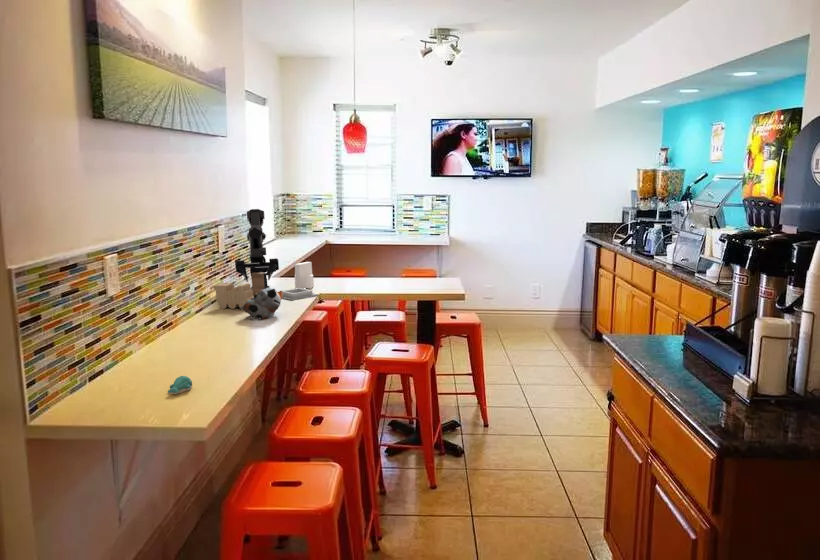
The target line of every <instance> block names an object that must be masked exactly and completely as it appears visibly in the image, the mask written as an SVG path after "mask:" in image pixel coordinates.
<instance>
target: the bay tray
mask: <svg viewBox="0 0 820 560" xmlns="http://www.w3.org/2000/svg"><path fill="white" fill-rule="evenodd" d="M281 291H282V295H283V297H282V299H283V298H284V299H283V300H287V299H288V301H291V300H292V301H296V299H297V300H302V299H301V298H303V299H307V297H308V298H313V297H318V296H319V294H318V293H313V290H310V289H302V288H297V289H296V288H292V289H285V290H281Z"/></svg>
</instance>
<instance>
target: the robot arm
mask: <svg viewBox="0 0 820 560" xmlns="http://www.w3.org/2000/svg"><path fill="white" fill-rule="evenodd" d="M265 217H266V216H265V211H264V210H262V209H260V208H251V209H249V210H248V211H246V220H247V221H248V225H249V228H248V232H247V233H246V238H247V241H249V253H250V254H249V261H250V262H245V259H243V260H240V259H239V260H236V261H235V264H234V265H235V266H234V267H235V272H236V273H237V274H238V273H239V274H240V275H242V276H243V277H244V279H245V281H246V282H247V283H248V281H249V279H248V274H247V268H248V269H249V271H250V275H251V274H252V273H257V272H263V275H264V289H268V288H271V286H270V285H268V281H270V279H271V277H272V275H273V274H274V272H277V271H279V270H280V266H279V259H278V258H277V257H276V258H269V261H266V260H267V258H266V257H265V256H266V255H267V248H266V246H265V247H264V244H263V242H264V241H265V240H266V237H267V235H266V234H265V232H263V225H264V220H265ZM251 289H252V286H251Z"/></svg>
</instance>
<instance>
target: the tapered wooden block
mask: <svg viewBox="0 0 820 560" xmlns="http://www.w3.org/2000/svg"><path fill="white" fill-rule="evenodd" d="M250 277H251V287H252V288H251V289H252V290H253V296H254V294H255V293H257V294H258V293H259V292H260V291H261V290H263V289H265V288H264V275H263V272H257V273H252V274H251V273H250Z"/></svg>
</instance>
